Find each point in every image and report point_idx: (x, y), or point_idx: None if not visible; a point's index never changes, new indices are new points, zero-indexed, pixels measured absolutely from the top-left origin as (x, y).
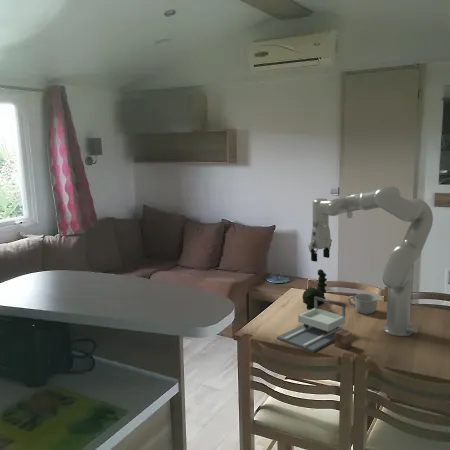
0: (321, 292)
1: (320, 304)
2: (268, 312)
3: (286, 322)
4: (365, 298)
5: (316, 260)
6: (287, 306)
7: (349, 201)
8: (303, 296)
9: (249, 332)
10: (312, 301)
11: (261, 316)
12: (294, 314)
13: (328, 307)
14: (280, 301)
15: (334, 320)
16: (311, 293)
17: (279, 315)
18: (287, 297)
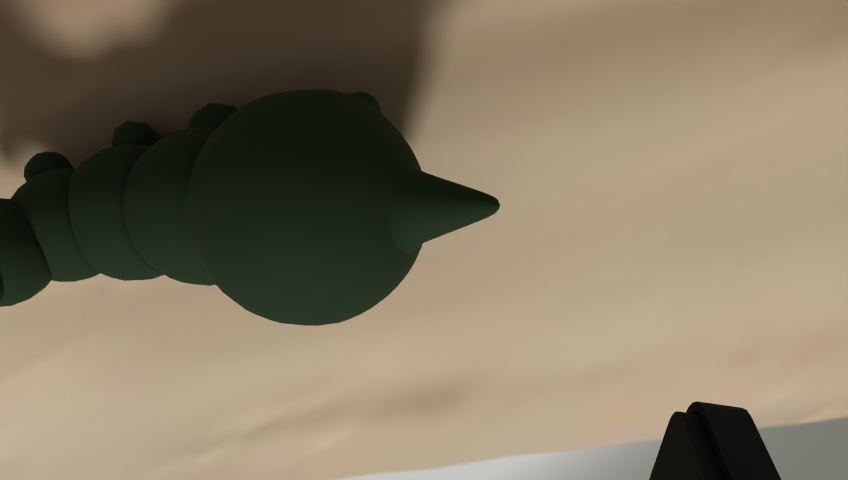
0: (58, 209)
1: (232, 110)
2: (663, 416)
3: (829, 171)
4: None
5: (754, 433)
6: (425, 364)
7: None
8: (402, 279)
9: None
10: (407, 144)
11: (787, 415)
12: (581, 216)
13: (173, 32)
14: (352, 464)
15: None
16: (382, 205)
17: (683, 311)
18: (222, 466)
